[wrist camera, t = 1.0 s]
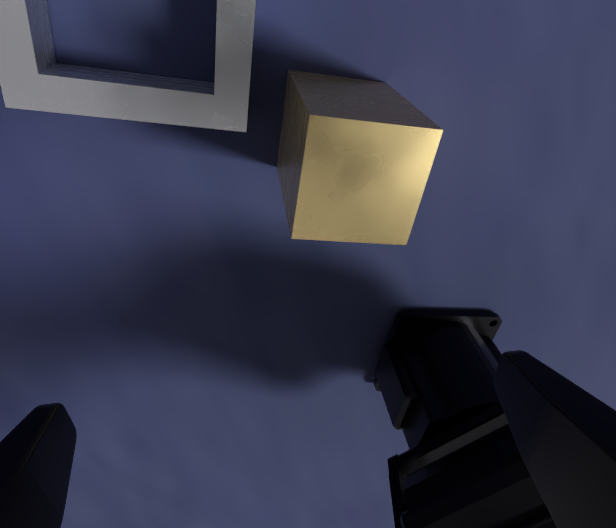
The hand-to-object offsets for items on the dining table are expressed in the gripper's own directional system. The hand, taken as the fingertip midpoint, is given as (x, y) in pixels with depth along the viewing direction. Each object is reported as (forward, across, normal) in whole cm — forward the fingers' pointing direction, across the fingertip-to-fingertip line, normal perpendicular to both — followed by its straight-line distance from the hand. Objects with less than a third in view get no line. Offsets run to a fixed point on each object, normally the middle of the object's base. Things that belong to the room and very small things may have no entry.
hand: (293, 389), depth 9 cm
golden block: (+12, -3, -2) cm, 13 cm away
